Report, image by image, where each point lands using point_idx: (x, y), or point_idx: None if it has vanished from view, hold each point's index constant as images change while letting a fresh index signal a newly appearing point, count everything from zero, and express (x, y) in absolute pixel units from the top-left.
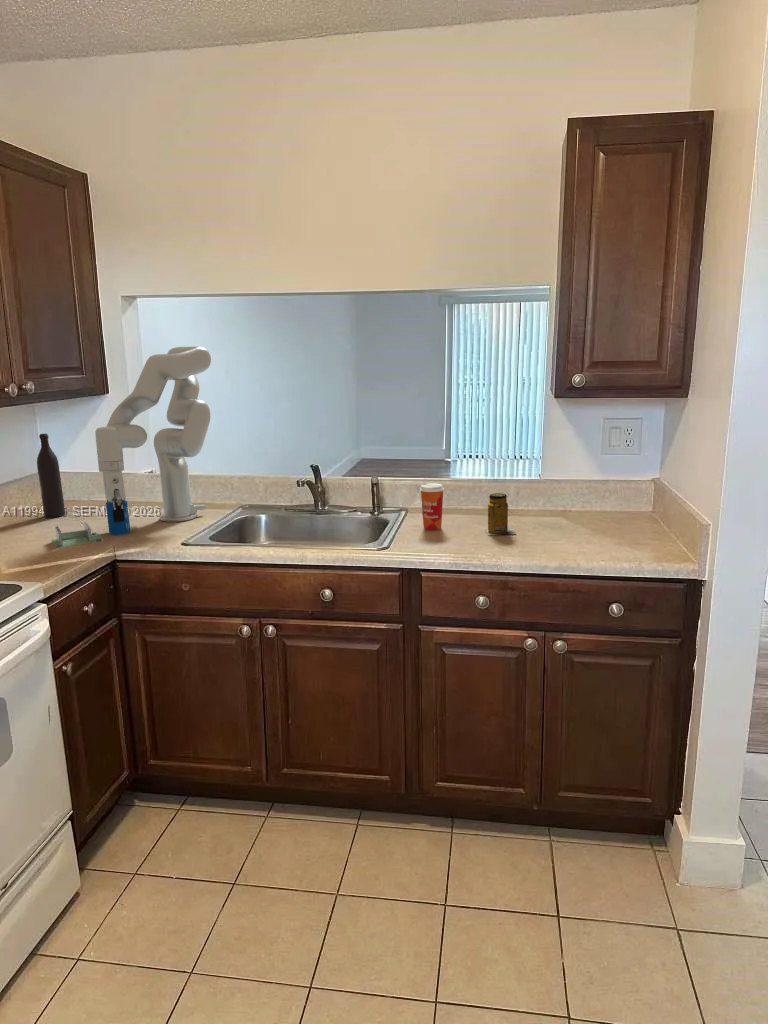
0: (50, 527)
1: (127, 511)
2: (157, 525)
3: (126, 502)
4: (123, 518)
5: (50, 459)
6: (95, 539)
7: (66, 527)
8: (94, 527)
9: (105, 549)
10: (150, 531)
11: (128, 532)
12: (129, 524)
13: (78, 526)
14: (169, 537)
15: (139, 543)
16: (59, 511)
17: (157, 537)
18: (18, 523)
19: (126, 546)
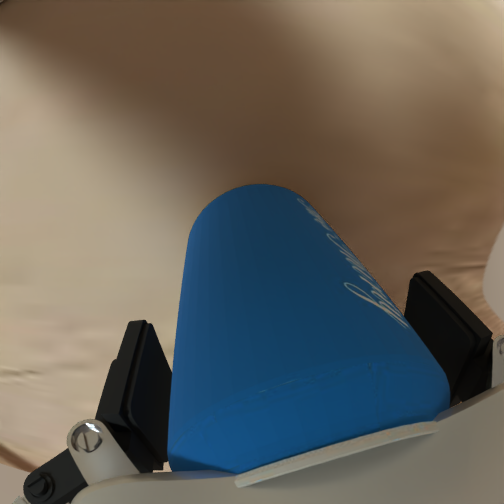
0: (34, 438)
1: (354, 272)
2: (89, 3)
3: (412, 361)
4: (437, 286)
5: None
6: None
7: (32, 416)
8: (31, 353)
9: (459, 298)
10: (251, 43)
11: (306, 201)
12: (292, 205)
13: (18, 391)
14: (450, 5)
15: (477, 162)
16: None
17: (428, 48)
18: (6, 459)
19: (480, 222)
